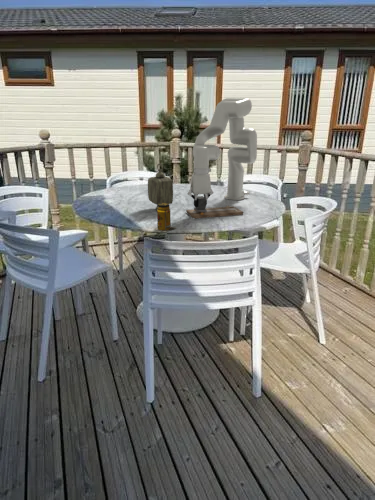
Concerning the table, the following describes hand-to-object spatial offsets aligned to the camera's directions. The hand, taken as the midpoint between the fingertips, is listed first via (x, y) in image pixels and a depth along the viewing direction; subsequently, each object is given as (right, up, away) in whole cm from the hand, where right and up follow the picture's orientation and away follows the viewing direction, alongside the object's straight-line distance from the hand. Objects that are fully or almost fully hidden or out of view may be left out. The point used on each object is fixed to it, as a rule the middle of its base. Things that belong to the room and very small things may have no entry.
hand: (200, 206), depth 187 cm
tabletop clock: (-22, -1, +11) cm, 24 cm away
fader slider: (0, -2, +1) cm, 2 cm away
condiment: (-17, -13, -21) cm, 30 cm away
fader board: (+8, -3, +4) cm, 9 cm away
